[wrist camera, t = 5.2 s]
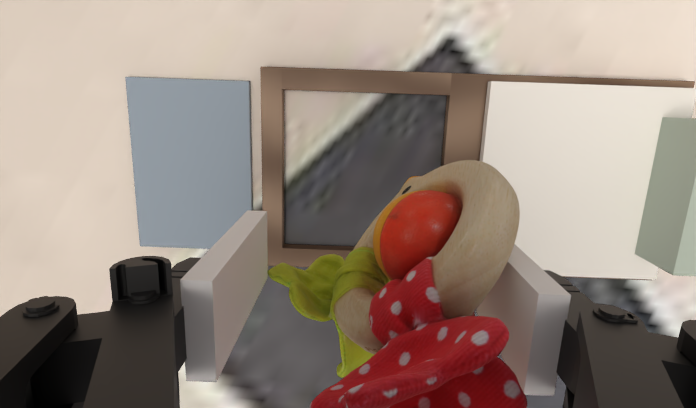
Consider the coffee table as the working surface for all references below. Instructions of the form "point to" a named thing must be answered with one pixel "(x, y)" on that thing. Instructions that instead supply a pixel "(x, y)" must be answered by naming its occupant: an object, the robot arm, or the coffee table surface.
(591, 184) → the sliding cover
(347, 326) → the bird rattle
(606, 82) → the puzzle board
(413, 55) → the coffee table surface
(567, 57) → the coffee table surface
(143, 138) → the slate mat
